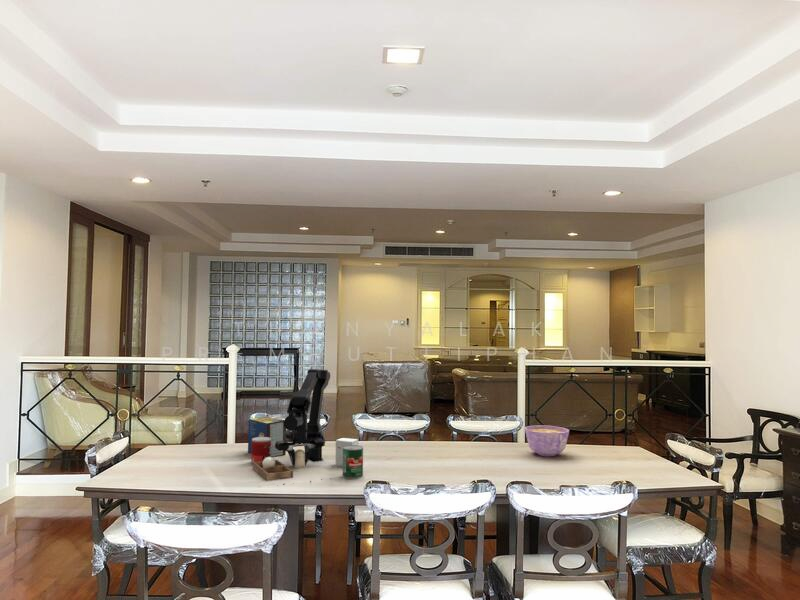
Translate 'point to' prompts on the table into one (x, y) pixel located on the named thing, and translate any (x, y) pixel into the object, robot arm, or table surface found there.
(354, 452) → the canned tomato
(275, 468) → the crate
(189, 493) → the table surface
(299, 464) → the cylinder
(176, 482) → the table surface
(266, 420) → the protein box
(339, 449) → the small box
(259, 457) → the canned food
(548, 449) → the bowl of food
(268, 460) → the ball
